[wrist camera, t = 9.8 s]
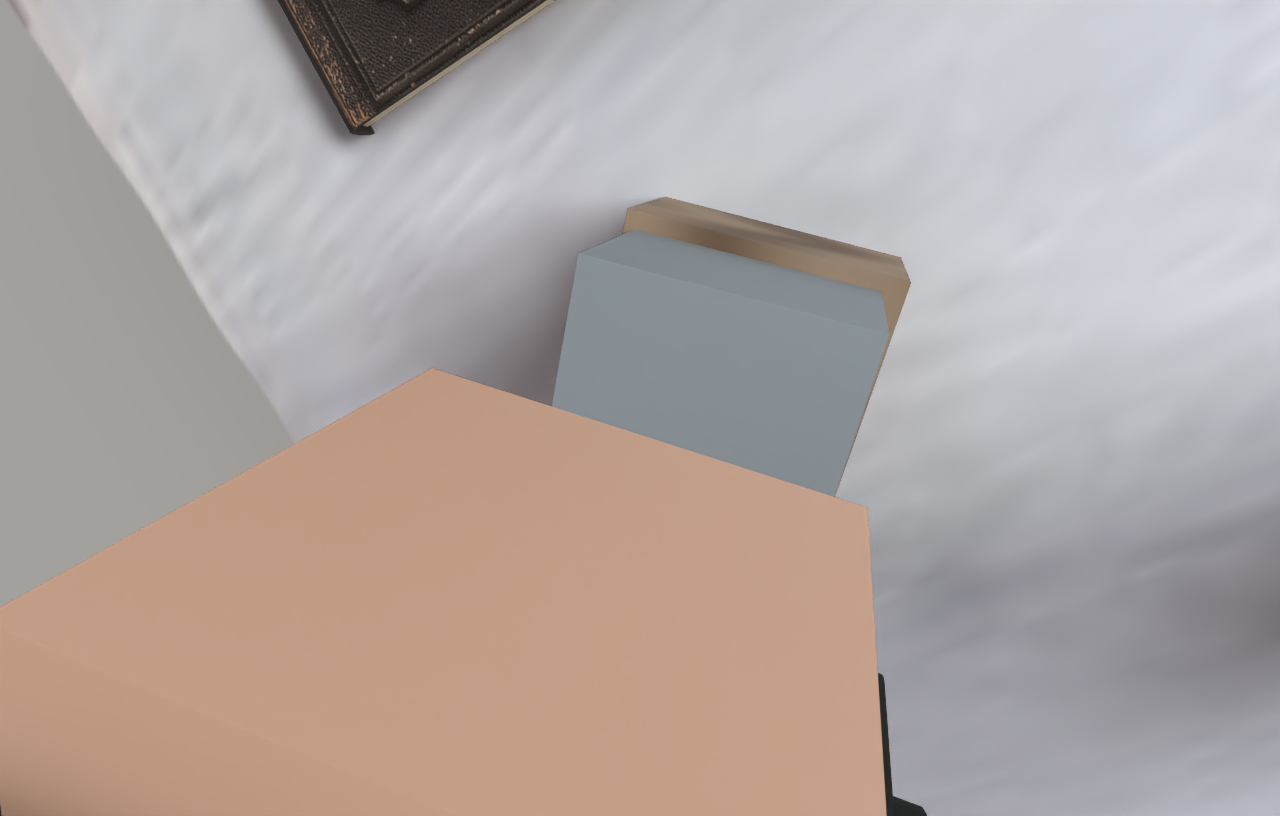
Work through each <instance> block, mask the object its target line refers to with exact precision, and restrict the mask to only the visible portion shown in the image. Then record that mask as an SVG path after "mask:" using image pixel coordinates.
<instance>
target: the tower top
mask: <svg viewBox="0 0 1280 816" xmlns="http://www.w3.org/2000/svg"><path fill="white" fill-rule="evenodd" d="M888 337H889V329H888V323H887V318H886V313H885V308H884V302H883V297H882V292H881V291H878V290H874V289H870V288H866V287H862V286H858V285H854V284H850V283H846V282H842V281H838V280H834V279H830V278H826V277H822V276H818V275H814V274H810V273H806V272H802V271H798V270H795V269H791V268H787V267H783V266H779V265H775V264H771V263H767V262H763V261H759V260H755V259H751V258H747V257H743V256H739V255H735V254H731V253H727V252H723V251H719V250H715V249H711V248H707V247H703V246H699V245H695V244H691V243H687V242H683V241H680V240H676V239H672V238H668V237H664V236H660V235H656V234H652V233H648V232H644V231H640V230H636V229H635V230H633V231H630V232H628V233H625V234H623V235H621V236H618V237H616V238H613V239H611V240H609V241H606V242H604V243H601V244H599V245H596V246H594V247H592V248H589V249H587V250H584V251H582V252H580V253H578V257H577V263H576V269H575V275H574V280H573V286H572V292H571V297H570V303H569V309H568V315H567V320H566V326H565V332H564V338H563V343H562V349H561V355H560V361H559V366H558V372H557V378H556V384H555V389H554V395H553V401H552V407H555V408H558V409H561V410H564V411H568V412H571V413H574V414H577V415H580V416H583V417H586V418H589V419H592V420H596V421H599V422H602V423H605V424H608V425H611V426H614V427H617V428H621V429H624V430H627V431H630V432H633V433H636V434H639V435H642V436H645V437H649V438H652V439H655V440H658V441H661V442H664V443H667V444H670V445H674V446H677V447H680V448H683V449H686V450H689V451H692V452H695V453H698V454H702V455H705V456H708V457H711V458H714V459H717V460H720V461H723V462H727V463H730V464H733V465H736V466H739V467H742V468H745V469H748V470H751V471H755V472H758V473H761V474H764V475H767V476H770V477H773V478H776V479H780V480H783V481H786V482H789V483H792V484H795V485H798V486H801V487H805V488H808V489H811V490H814V491H817V492H820V493H823V494H826V495H829V496H833V497H834V496H835V493H836V490H837V488H838V485H839V482H840V479H841V476H842V473H843V470H844V467H845V464H846V461H847V458H848V455H849V452H850V449H851V446H852V443H853V440H854V437H855V435H856V432H857V429H858V426H859V423H860V420H861V417H862V414H863V411H864V408H865V405H866V402H867V399H868V396H869V393H870V390H871V387H872V384H873V382H874V379H875V376H876V373H877V370H878V367H879V364H880V361H881V358H882V355H883V352H884V349H885V346H886V343H887V340H888Z"/></svg>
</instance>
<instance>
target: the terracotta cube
mask: <svg viewBox="0 0 1280 816" xmlns="http://www.w3.org/2000/svg"><path fill="white" fill-rule="evenodd" d="M0 806H1V815H2V816H887V814H886V798H885V782H884V765H883V749H882V733H881V717H880V701H879V685H878V669H877V652H876V636H875V620H874V604H873V588H872V572H871V555H870V539H869V523H868V508H867V507H864V506H861V505H858V504H854V503H851V502H848V501H845V500H842V499H839V498H836V497H833V496H829V495H826V494H823V493H820V492H817V491H814V490H811V489H808V488H805V487H801V486H798V485H795V484H792V483H789V482H786V481H783V480H780V479H776V478H773V477H770V476H767V475H764V474H761V473H758V472H755V471H751V470H748V469H745V468H742V467H739V466H736V465H733V464H730V463H727V462H723V461H720V460H717V459H714V458H711V457H708V456H705V455H702V454H698V453H695V452H692V451H689V450H686V449H683V448H680V447H677V446H674V445H670V444H667V443H664V442H661V441H658V440H655V439H652V438H649V437H645V436H642V435H639V434H636V433H633V432H630V431H627V430H624V429H621V428H617V427H614V426H611V425H608V424H605V423H602V422H599V421H596V420H592V419H589V418H586V417H583V416H580V415H577V414H574V413H571V412H568V411H564V410H561V409H558V408H555V407H552V406H549V405H546V404H543V403H539V402H536V401H533V400H530V399H527V398H524V397H521V396H518V395H515V394H511V393H508V392H505V391H502V390H499V389H496V388H493V387H490V386H486V385H483V384H480V383H477V382H474V381H471V380H468V379H465V378H461V377H458V376H455V375H452V374H449V373H446V372H443V371H440V370H437V369H433V368H431V369H429V370H428V371H426V372H424V373H422V374H420V375H418V376H417V377H415V378H413V379H411V380H409V381H408V382H406V383H404V384H402V385H400V386H399V387H397V388H395V389H393V390H391V391H390V392H388V393H386V394H384V395H382V396H381V397H379V398H377V399H375V400H373V401H372V402H370V403H368V404H366V405H364V406H362V407H361V408H359V409H357V410H355V411H353V412H352V413H350V414H348V415H346V416H344V417H343V418H341V419H339V420H337V421H335V422H334V423H332V424H330V425H328V426H326V427H325V428H323V429H321V430H319V431H317V432H316V433H314V434H312V435H310V436H308V437H306V438H305V439H303V440H301V441H299V442H297V443H296V444H294V445H292V446H290V447H288V448H287V449H285V450H283V451H281V452H279V453H278V454H276V455H274V456H272V457H270V458H269V459H267V460H265V461H263V462H261V463H260V464H258V465H256V466H254V467H252V468H250V469H249V470H247V471H245V472H243V473H242V474H240V475H238V476H236V477H234V478H232V479H231V480H229V481H227V482H225V483H223V484H222V485H220V486H218V487H216V488H214V489H213V490H211V491H209V492H207V493H205V494H203V495H202V496H200V497H198V498H196V499H194V500H193V501H191V502H189V503H187V504H186V505H184V506H182V507H180V508H178V509H177V510H175V511H173V512H171V513H169V514H167V515H166V516H164V517H162V518H160V519H159V520H157V521H155V522H153V523H151V524H149V525H148V526H146V527H144V528H142V529H140V530H139V531H137V532H135V533H133V534H132V535H129V536H128V537H126V538H124V539H122V540H120V541H119V542H117V543H115V544H113V545H111V546H110V547H108V548H106V549H104V550H102V551H101V552H99V553H97V554H95V555H93V556H92V557H90V558H88V559H86V560H84V561H82V562H81V563H79V564H77V565H75V566H73V567H72V568H70V569H68V570H66V571H64V572H63V573H61V574H59V575H57V576H55V577H54V578H52V579H50V580H48V581H46V582H45V583H43V584H41V585H39V586H37V587H36V588H34V589H32V590H30V591H28V592H26V593H25V594H23V595H21V596H19V597H17V598H16V599H14V600H12V601H10V602H8V603H7V604H5V605H3V606H1V607H0Z"/></svg>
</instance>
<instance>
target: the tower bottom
mask: <svg viewBox="0 0 1280 816" xmlns="http://www.w3.org/2000/svg"><path fill="white" fill-rule="evenodd" d="M635 229H636V230H640V231H644V232H648V233H652V234H656V235H660V236H664V237H668V238H672V239H676V240H680V241H683V242H687V243H691V244H695V245H699V246H703V247H707V248H711V249H715V250H719V251H723V252H727V253H731V254H735V255H739V256H743V257H747V258H751V259H755V260H759V261H763V262H767V263H771V264H775V265H779V266H783V267H787V268H791V269H795V270H798V271H802V272H806V273H810V274H814V275H818V276H822V277H826V278H830V279H834V280H838V281H842V282H846V283H850V284H854V285H858V286H862V287H866V288H870V289H874V290H878V291H881V292H882V297H883V302H884V308H885V313H886V318H887V323H888V329H889V337H888V340H887V343H886V346H885V349H884V352H883V355H882V358H881V361H880V364H879V367H878V370H877V373H876V376H875V379H874V382H873V384H872V387H871V390H870V393H869V396H868V399H867V402H866V405H865V408H864V411H863V414H862V417H861V420H860V423H859V426H858V429H857V432H856V435H855V437H854V440H853V443H852V446H851V449H850V452H849V455H850V453H851V450H852V447H853V444H854V441H855V439H856V436H857V433H858V430H859V427H860V425H861V422H862V419H863V416H864V413H865V411H866V408H867V405H868V402H869V399H870V396H871V394H872V391H873V388H874V385H875V382H876V380H877V377H878V374H879V371H880V368H881V366H882V363H883V360H884V357H885V354H886V352H887V349H888V346H889V343H890V340H891V338H892V335H893V332H894V329H895V326H896V324H897V321H898V318H899V315H900V312H901V309H902V307H903V304H904V301H905V298H906V295H907V293H908V290H909V287H910V284H911V281H910V279H909V277H908V274H907V272H906V269H905V267H904V264H903V262H902V259H901V257H897V256H893V255H889V254H885V253H881V252H877V251H874V250H870V249H866V248H862V247H858V246H854V245H850V244H846V243H843V242H839V241H835V240H831V239H827V238H823V237H819V236H815V235H811V234H808V233H804V232H800V231H796V230H792V229H788V228H784V227H780V226H777V225H773V224H769V223H765V222H761V221H757V220H753V219H749V218H745V217H742V216H738V215H734V214H730V213H726V212H722V211H718V210H714V209H711V208H707V207H703V206H699V205H695V204H691V203H687V202H683V201H680V200H676V199H672V198H668V197H663V198H660V199H657V200H653V201H650V202H647V203H643V204H640V205H637V206H634V207H630V208H628V209H627V213H626V218H625V223H624V228H623V233H622V235H623V234H625V233H628V232H630V231H633V230H635ZM849 455H848V458H849ZM848 458H847V461H848ZM847 461H846V464H847ZM846 464H845V467H846ZM845 467H844V469H845ZM843 472H844V470H843ZM842 475H843V473H842ZM841 478H842V476H841ZM840 481H841V479H840ZM839 483H840V482H839ZM838 486H839V485H838ZM837 489H838V488H837ZM836 492H837V490H836ZM835 495H836V493H835ZM834 497H835V496H834Z"/></svg>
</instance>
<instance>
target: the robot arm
mask: <svg viewBox="0 0 1280 816" xmlns="http://www.w3.org/2000/svg"><path fill="white" fill-rule="evenodd" d="M878 685H879V701H880V717H881V733H882V749H883V765H884V782H885V798H886V814H887V816H927V814H926V812H925V811H924V809H923V808H922V807H921V806H918V805H915V804H913V803H910V802H907V801H905V800H902V799H899V798H897V797H894V796H893V794H892V780H891V766H890V752H889V739H888V725H887V711H886V697H885V683H884V677H883V676H882V674H879V673H878ZM0 816H2V815H1V806H0Z"/></svg>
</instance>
